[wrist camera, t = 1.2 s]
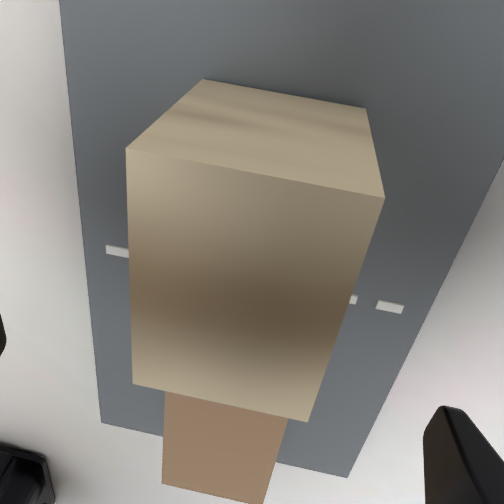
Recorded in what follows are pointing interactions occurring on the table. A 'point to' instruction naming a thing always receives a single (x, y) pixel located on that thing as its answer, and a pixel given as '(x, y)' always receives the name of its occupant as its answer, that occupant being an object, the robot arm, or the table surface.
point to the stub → (247, 243)
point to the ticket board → (386, 230)
